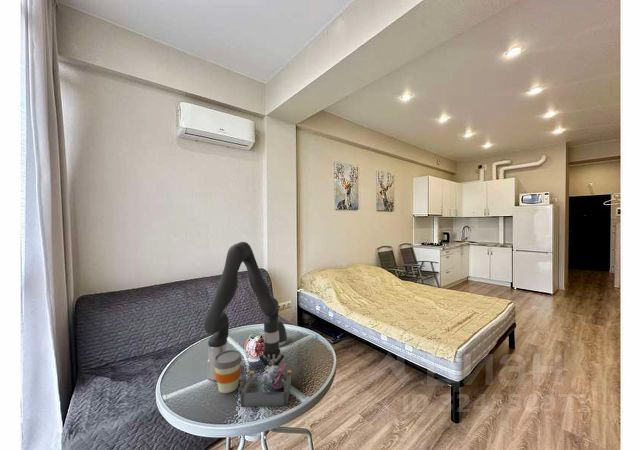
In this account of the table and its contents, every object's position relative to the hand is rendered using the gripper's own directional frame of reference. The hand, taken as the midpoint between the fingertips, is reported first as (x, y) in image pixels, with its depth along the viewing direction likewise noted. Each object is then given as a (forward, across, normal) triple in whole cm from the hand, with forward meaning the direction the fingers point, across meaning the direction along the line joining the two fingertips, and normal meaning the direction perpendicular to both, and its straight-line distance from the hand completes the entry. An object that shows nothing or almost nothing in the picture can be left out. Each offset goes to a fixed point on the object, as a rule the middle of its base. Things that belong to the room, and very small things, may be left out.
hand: (272, 373), depth 129 cm
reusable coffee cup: (+3, -20, -5) cm, 21 cm away
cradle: (+3, -1, -11) cm, 12 cm away
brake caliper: (+3, +2, -6) cm, 7 cm away
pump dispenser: (+4, -2, +37) cm, 37 cm away
